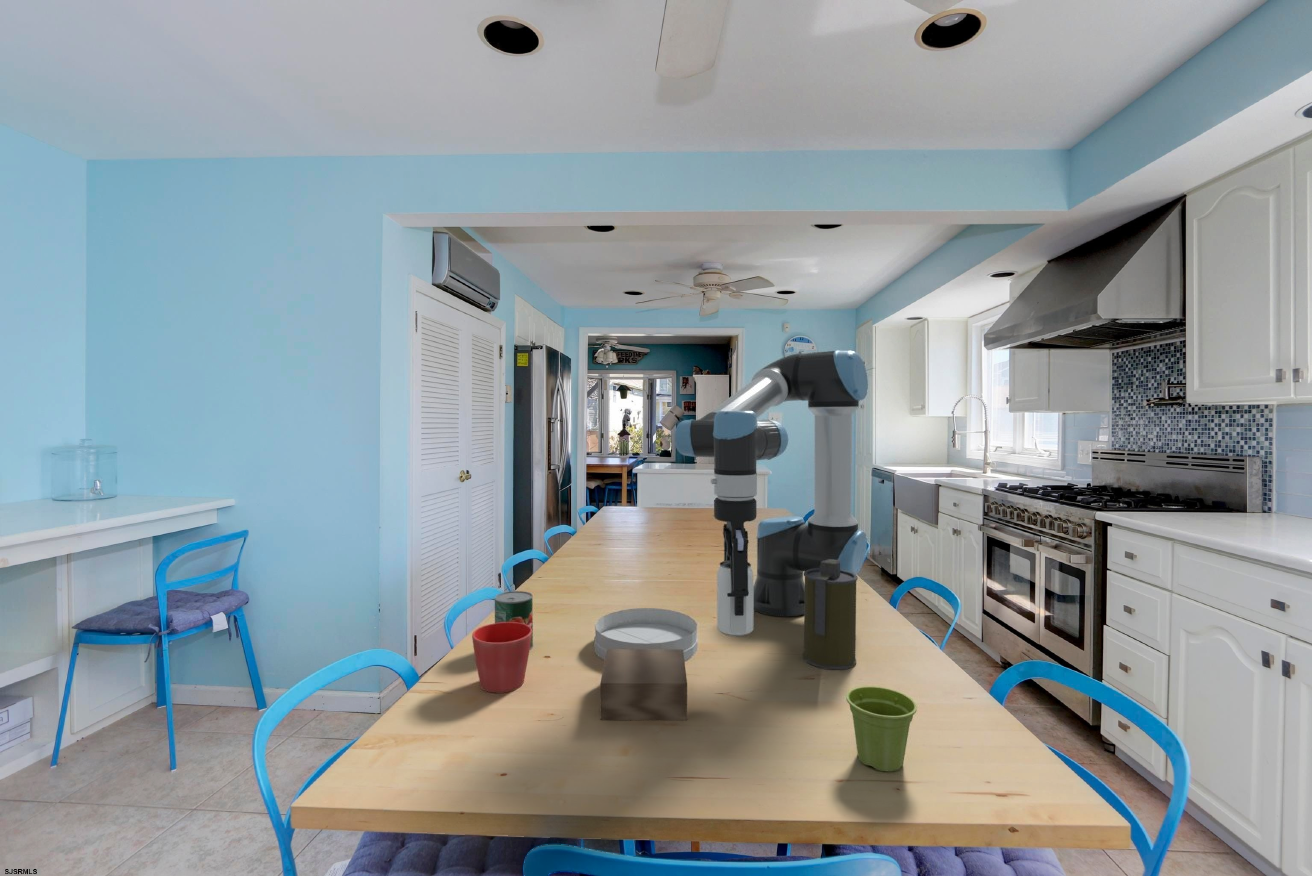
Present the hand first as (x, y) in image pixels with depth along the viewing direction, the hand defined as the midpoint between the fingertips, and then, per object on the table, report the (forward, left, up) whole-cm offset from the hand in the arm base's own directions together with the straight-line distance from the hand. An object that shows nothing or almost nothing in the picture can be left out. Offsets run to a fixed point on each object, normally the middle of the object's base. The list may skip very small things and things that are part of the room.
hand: (735, 624), depth 107 cm
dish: (+16, -20, -12) cm, 28 cm away
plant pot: (-18, +22, -12) cm, 31 cm away
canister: (-21, -13, -12) cm, 27 cm away
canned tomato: (+44, -19, -12) cm, 49 cm away
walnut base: (+16, +4, -12) cm, 20 cm away
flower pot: (+42, -2, -12) cm, 44 cm away
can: (0, 0, -1) cm, 1 cm away
